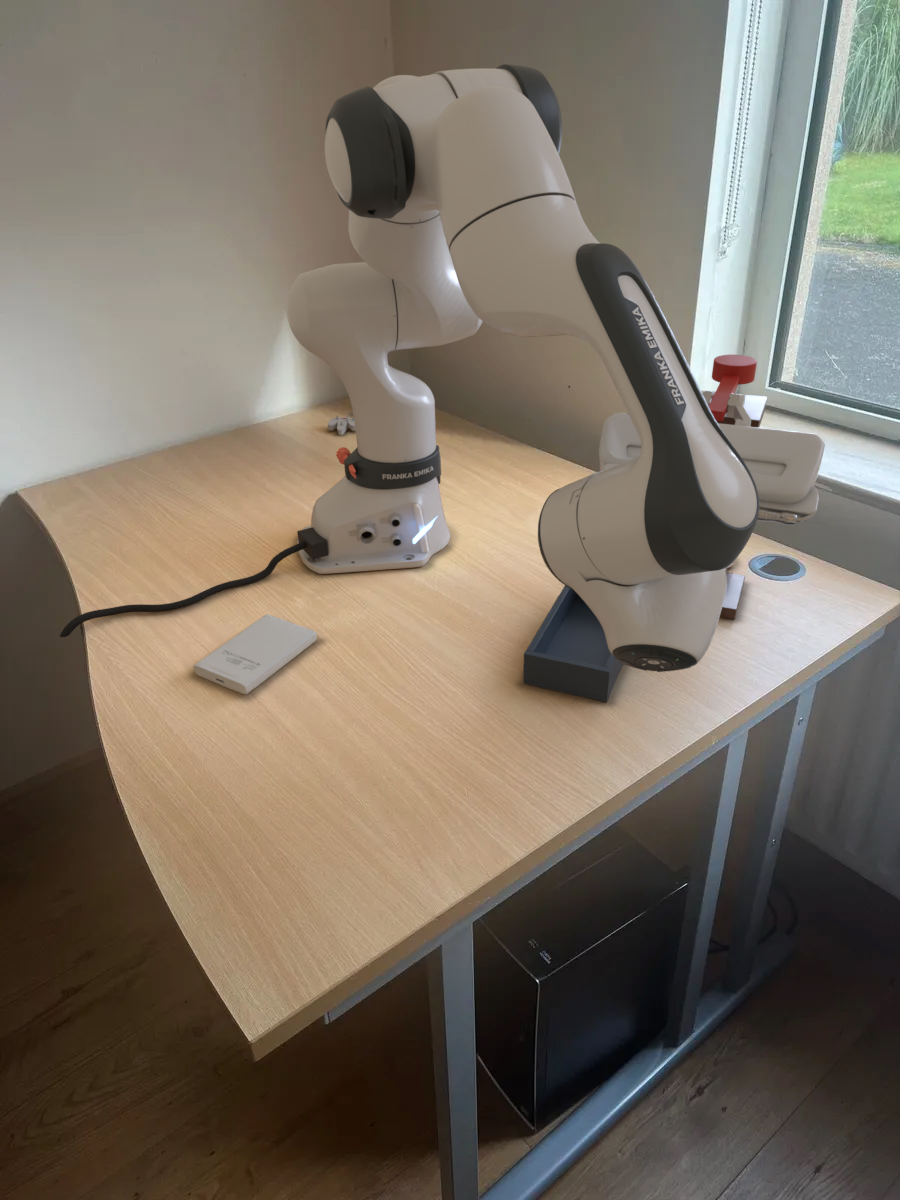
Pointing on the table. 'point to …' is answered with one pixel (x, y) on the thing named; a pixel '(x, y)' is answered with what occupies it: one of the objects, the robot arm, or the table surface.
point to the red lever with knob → (730, 380)
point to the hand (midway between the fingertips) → (721, 396)
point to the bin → (571, 652)
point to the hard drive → (255, 654)
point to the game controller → (341, 424)
